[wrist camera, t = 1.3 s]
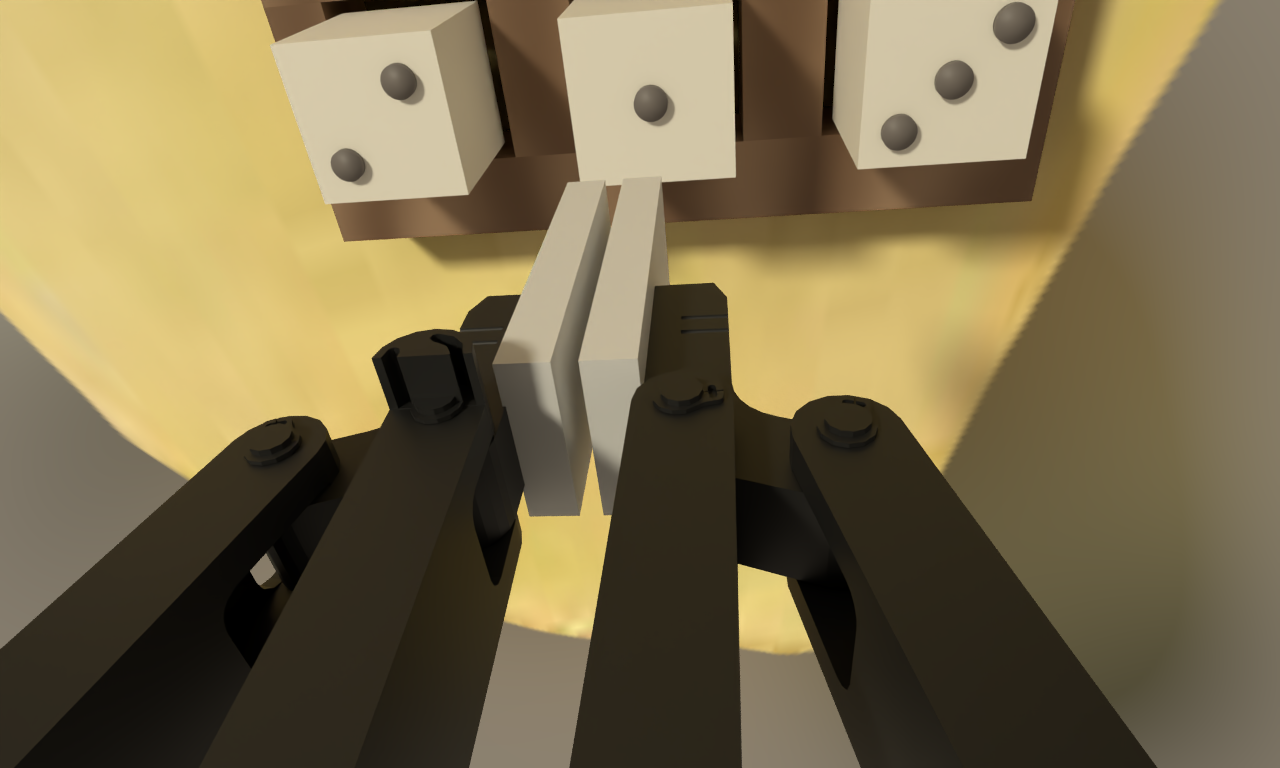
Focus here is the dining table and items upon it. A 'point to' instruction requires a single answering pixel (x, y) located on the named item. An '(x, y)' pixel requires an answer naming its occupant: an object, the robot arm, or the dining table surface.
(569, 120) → the keyboard base
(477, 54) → the key two
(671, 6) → the cream block
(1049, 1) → the key three
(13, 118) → the dining table surface
